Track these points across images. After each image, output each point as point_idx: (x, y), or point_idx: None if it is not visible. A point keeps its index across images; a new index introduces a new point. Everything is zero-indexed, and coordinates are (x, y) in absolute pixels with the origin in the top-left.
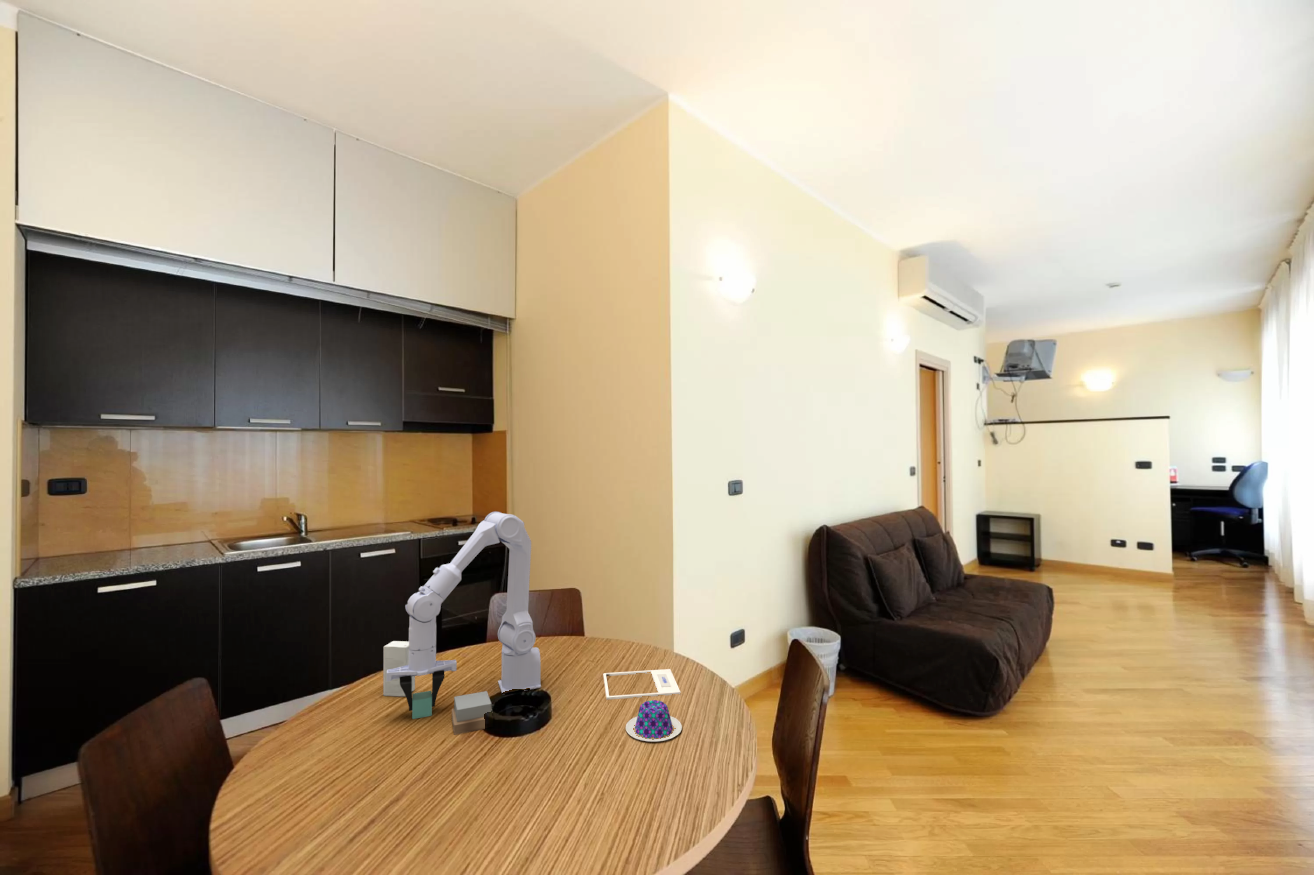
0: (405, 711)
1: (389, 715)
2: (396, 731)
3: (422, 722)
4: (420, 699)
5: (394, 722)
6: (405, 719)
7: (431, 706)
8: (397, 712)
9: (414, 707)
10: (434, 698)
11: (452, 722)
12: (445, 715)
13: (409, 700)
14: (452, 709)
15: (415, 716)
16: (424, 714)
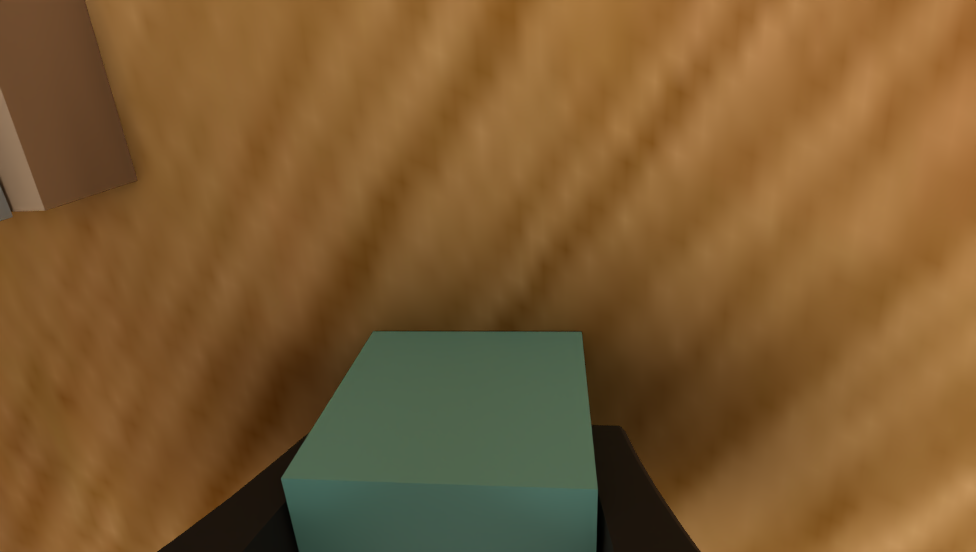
0: None
1: (813, 506)
2: (791, 61)
3: (463, 198)
4: (462, 482)
5: (783, 329)
6: (656, 353)
7: (341, 390)
8: (726, 533)
9: (560, 411)
10: (269, 480)
11: (83, 23)
12: (223, 273)
13: (646, 522)
14: (31, 189)
15: (546, 342)
16: (445, 346)
